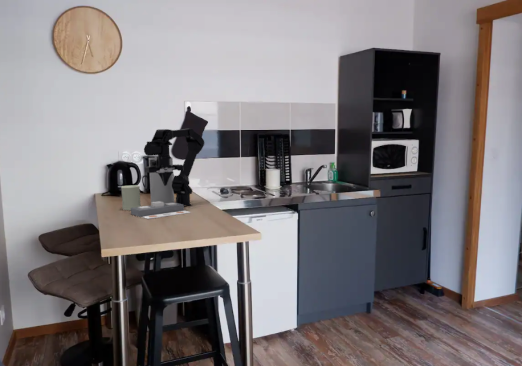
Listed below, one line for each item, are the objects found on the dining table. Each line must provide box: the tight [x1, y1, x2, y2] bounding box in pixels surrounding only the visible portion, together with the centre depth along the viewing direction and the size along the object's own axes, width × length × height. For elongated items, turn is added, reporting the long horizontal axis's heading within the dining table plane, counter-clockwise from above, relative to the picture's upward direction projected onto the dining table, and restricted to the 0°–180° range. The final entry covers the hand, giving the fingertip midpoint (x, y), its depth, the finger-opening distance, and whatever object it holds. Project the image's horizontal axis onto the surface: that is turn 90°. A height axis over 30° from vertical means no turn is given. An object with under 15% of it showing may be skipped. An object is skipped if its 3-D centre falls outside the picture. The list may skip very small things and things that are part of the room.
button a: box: [138, 205, 150, 209], centre depth 210 cm, size 4×4×2 cm
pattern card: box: [142, 210, 191, 220], centre depth 207 cm, size 22×6×1 cm, turn 129°
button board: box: [130, 201, 185, 218], centre depth 215 cm, size 23×10×3 cm, turn 129°
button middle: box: [150, 201, 164, 208], centre depth 214 cm, size 4×4×2 cm
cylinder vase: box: [148, 156, 175, 204], centre depth 240 cm, size 12×12×25 cm
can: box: [121, 184, 142, 211], centre depth 227 cm, size 9×9×12 cm
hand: (165, 185), depth 222 cm, fingers closed
